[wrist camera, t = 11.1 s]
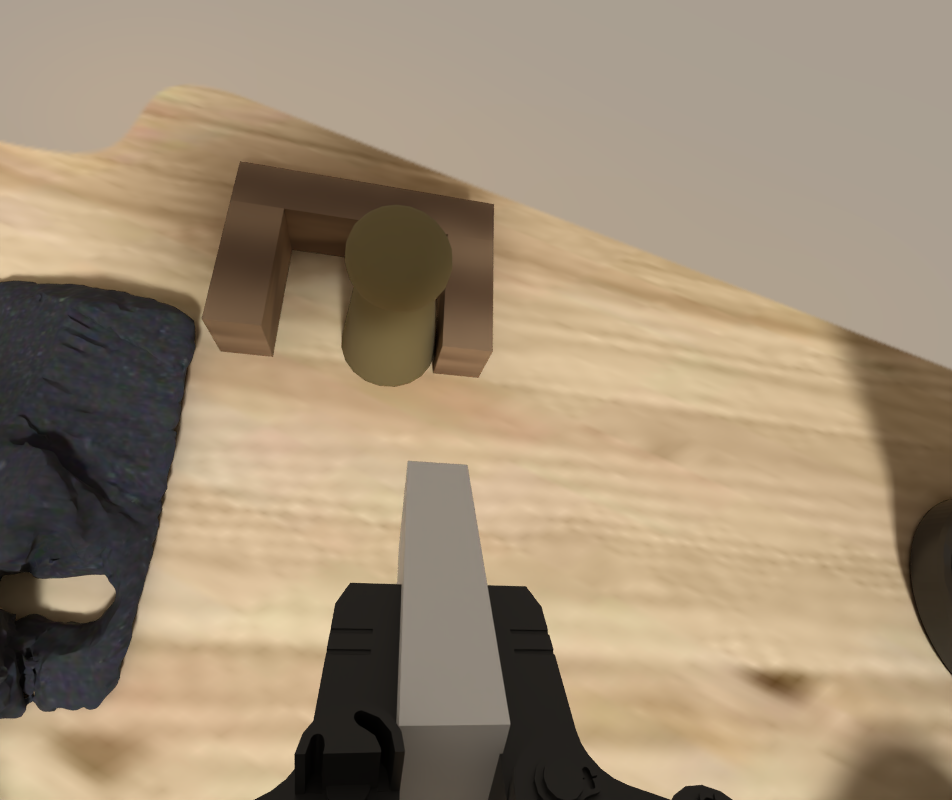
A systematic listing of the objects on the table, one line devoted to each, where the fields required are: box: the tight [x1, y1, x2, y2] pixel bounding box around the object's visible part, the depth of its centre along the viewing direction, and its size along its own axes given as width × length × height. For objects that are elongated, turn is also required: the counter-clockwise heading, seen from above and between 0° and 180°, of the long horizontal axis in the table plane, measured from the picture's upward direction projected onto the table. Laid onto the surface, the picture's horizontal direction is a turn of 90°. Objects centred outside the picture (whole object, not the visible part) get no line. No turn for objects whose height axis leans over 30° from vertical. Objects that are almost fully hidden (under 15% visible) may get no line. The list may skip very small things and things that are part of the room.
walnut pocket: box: [202, 161, 494, 378], centre depth 32 cm, size 11×16×4 cm
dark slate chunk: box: [0, 281, 195, 719], centre depth 25 cm, size 15×22×5 cm
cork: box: [342, 205, 452, 387], centre depth 28 cm, size 6×6×11 cm
